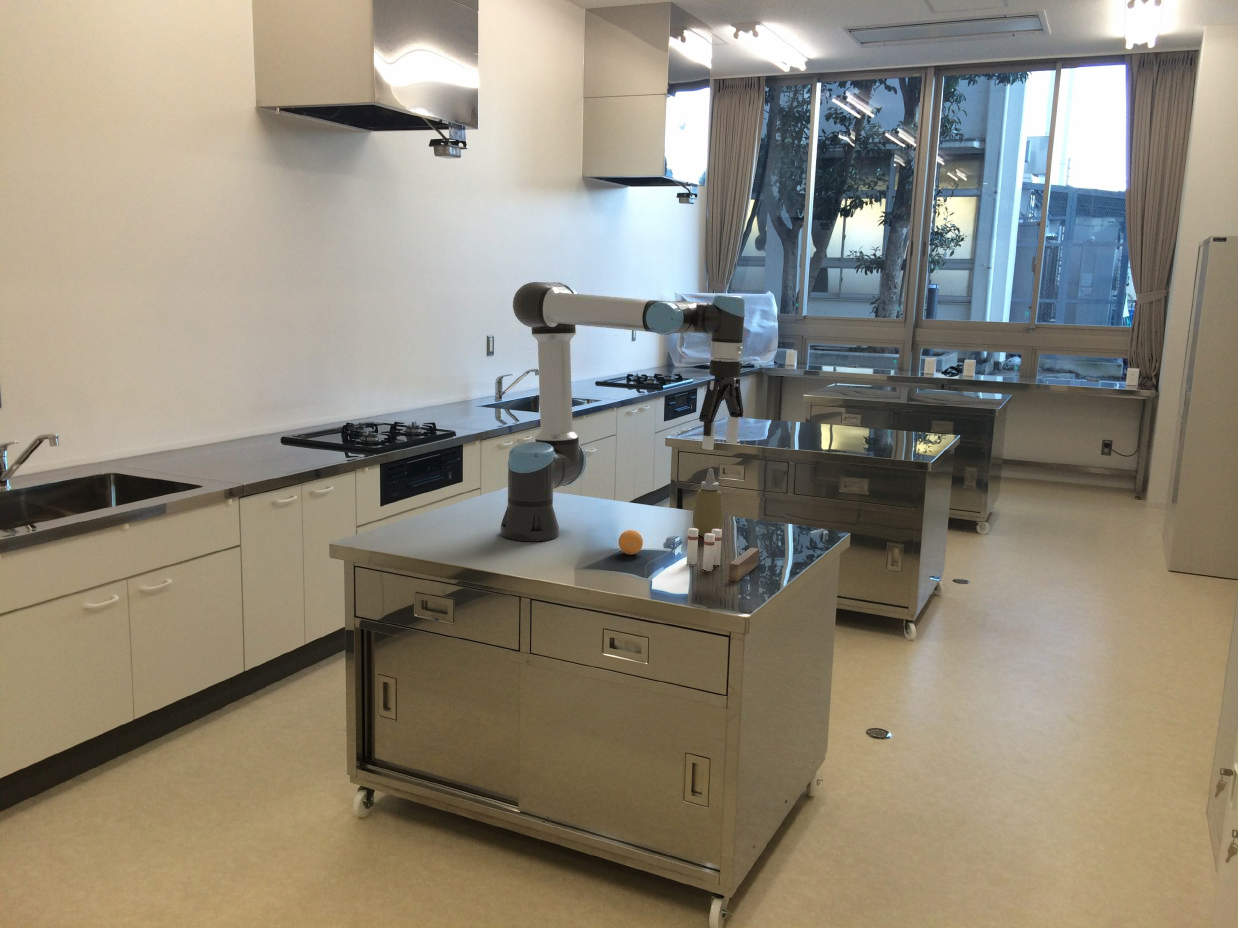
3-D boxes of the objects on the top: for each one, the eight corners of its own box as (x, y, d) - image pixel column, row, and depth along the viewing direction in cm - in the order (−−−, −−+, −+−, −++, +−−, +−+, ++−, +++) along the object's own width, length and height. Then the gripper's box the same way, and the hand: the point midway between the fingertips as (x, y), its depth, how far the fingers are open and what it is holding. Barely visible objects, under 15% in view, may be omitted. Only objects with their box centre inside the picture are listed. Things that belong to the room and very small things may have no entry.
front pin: (684, 564, 232) (686, 529, 231) (688, 561, 234) (690, 527, 233) (694, 566, 231) (696, 531, 230) (698, 563, 233) (700, 529, 232)
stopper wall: (728, 580, 221) (729, 563, 220) (749, 563, 235) (750, 547, 234) (737, 581, 220) (738, 564, 219) (757, 564, 234) (758, 548, 234)
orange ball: (613, 555, 238) (614, 531, 237) (624, 549, 243) (625, 526, 242) (636, 558, 235) (637, 534, 234) (646, 553, 241) (647, 529, 240)
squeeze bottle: (720, 540, 256) (724, 473, 252) (690, 537, 257) (693, 470, 254) (723, 533, 263) (727, 467, 260) (694, 530, 265) (697, 465, 262)
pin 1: (700, 570, 228) (702, 534, 226) (704, 567, 230) (706, 532, 229) (711, 571, 227) (713, 536, 225) (714, 569, 229) (716, 534, 228)
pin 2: (708, 565, 232) (710, 530, 231) (711, 562, 235) (713, 528, 233) (718, 566, 231) (720, 531, 230) (721, 564, 234) (723, 529, 232)
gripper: (717, 363, 225) (711, 454, 229) (760, 358, 246) (754, 441, 250) (688, 360, 229) (682, 450, 233) (733, 356, 250) (727, 438, 254)
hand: (719, 446), depth 241 cm, fingers open, 13 cm apart
